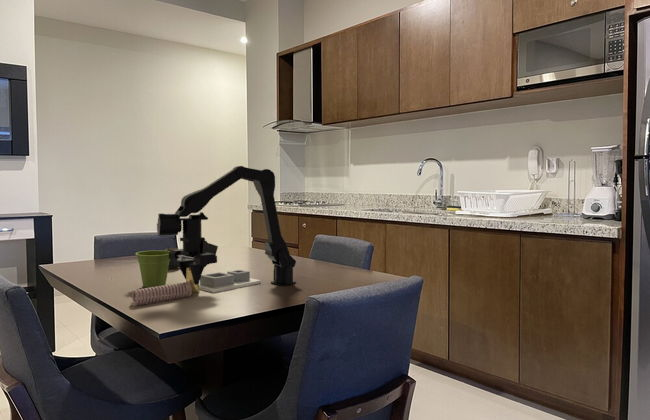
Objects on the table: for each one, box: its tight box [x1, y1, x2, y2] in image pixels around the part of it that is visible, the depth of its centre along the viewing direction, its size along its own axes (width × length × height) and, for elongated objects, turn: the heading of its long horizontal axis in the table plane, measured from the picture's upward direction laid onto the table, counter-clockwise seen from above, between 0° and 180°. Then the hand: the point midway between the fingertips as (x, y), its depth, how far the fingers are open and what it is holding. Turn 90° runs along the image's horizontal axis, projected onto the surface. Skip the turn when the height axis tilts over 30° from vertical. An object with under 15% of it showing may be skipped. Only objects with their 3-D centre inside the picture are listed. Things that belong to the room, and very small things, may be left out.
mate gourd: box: [164, 245, 180, 270], centre depth 198 cm, size 7×8×10 cm
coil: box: [130, 281, 192, 307], centre depth 144 cm, size 5×5×18 cm
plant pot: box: [135, 249, 170, 288], centre depth 164 cm, size 12×12×11 cm
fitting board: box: [199, 269, 262, 294], centre depth 165 cm, size 12×20×4 cm, turn 138°
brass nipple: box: [185, 267, 200, 295], centre depth 154 cm, size 4×4×8 cm
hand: (192, 283), depth 154 cm, fingers closed on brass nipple, 4 cm apart
